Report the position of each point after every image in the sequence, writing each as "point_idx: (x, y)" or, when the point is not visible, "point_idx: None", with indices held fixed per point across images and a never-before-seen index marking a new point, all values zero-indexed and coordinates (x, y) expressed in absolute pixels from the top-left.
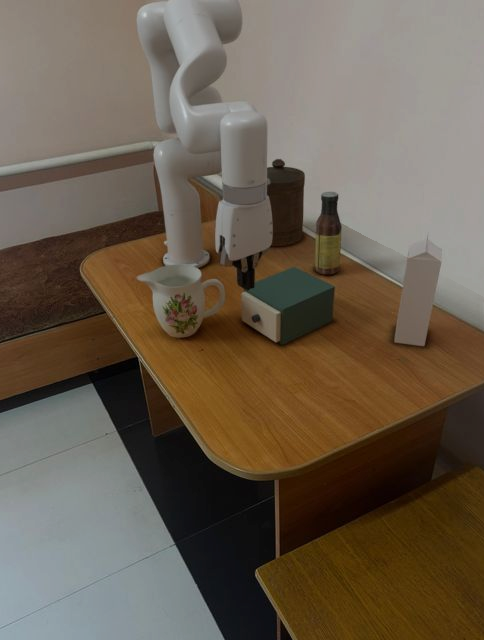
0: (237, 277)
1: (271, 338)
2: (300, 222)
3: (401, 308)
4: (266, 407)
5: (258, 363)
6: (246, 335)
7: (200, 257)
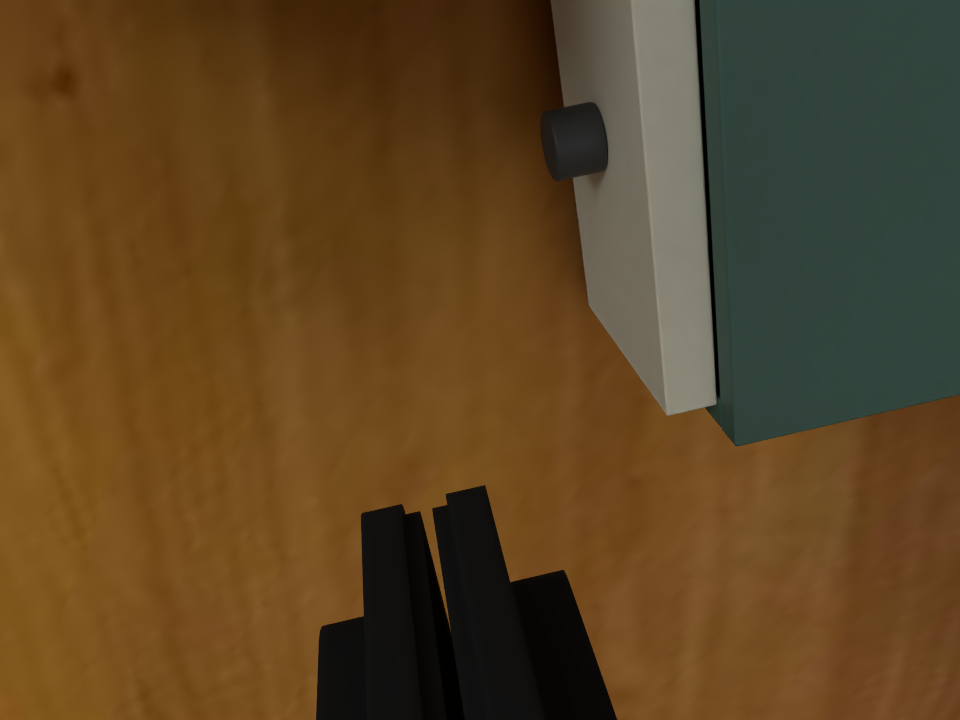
0: (320, 707)
1: (585, 266)
2: None
3: None
4: (259, 707)
5: (388, 405)
6: (474, 67)
7: None
